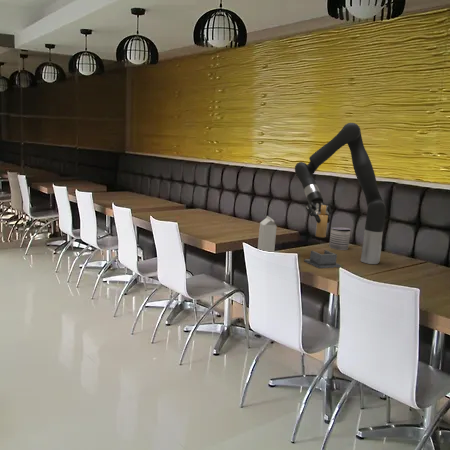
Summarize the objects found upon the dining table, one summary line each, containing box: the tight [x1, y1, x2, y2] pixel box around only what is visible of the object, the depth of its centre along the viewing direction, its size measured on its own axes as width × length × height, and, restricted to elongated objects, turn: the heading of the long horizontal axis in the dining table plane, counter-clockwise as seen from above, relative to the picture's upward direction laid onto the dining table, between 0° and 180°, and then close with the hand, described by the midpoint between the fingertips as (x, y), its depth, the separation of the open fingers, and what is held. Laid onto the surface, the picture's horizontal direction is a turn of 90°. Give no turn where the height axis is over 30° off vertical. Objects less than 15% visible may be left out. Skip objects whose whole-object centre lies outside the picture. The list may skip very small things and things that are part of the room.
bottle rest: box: [304, 249, 342, 269], centre depth 266 cm, size 13×13×6 cm
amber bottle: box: [315, 204, 328, 238], centre depth 266 cm, size 5×5×16 cm
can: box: [328, 227, 351, 251], centre depth 308 cm, size 11×11×12 cm
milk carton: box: [257, 215, 278, 253], centre depth 283 cm, size 7×7×19 cm
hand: (324, 221), depth 265 cm, fingers closed on amber bottle, 5 cm apart
